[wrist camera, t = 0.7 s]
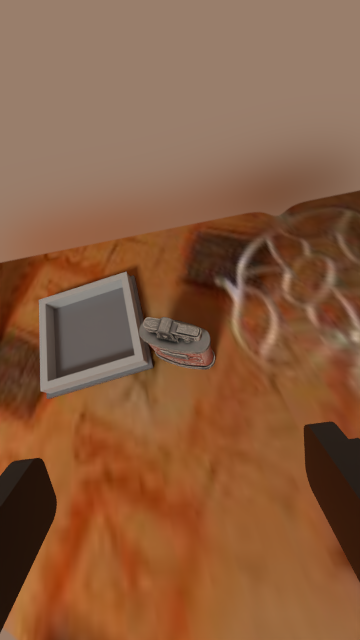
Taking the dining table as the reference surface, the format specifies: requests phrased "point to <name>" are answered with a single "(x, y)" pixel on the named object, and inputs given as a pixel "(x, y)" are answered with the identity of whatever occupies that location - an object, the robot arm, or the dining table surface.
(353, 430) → the dining table surface
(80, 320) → the tray
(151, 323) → the lighter
